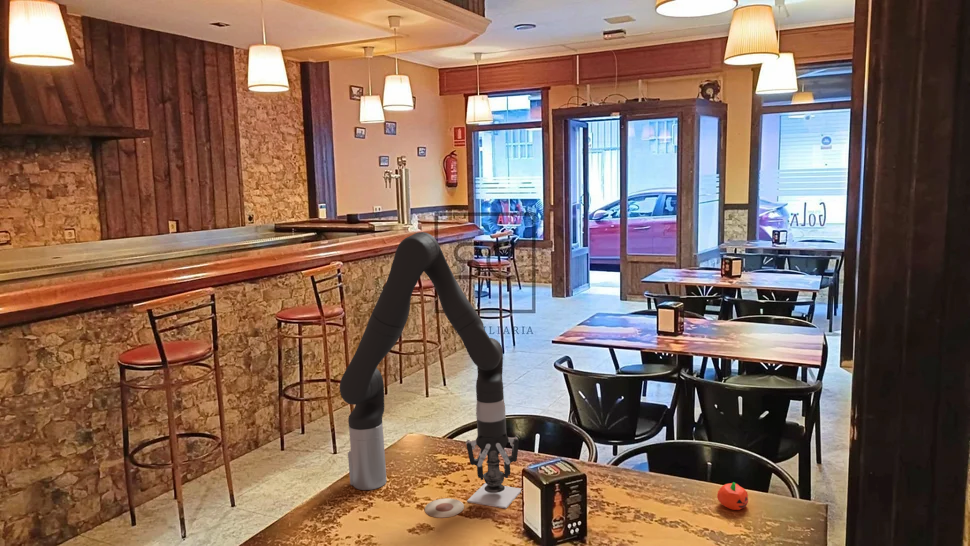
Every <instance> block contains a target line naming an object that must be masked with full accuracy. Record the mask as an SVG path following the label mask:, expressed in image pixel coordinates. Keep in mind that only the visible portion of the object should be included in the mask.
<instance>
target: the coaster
mask: <svg viewBox="0 0 970 546" xmlns="http://www.w3.org/2000/svg"><path fill="white" fill-rule="evenodd" d="M464 509H465V505H464V503H463V502H462V501H461V500H459V499H456V498H450V497H449V498H446V497H445V498H438V499H435V500H432V501H429V503H427V504H426V505H425V508H424V511H425V513H426V514H427V515H428V516H429V517H433V518H437V519H438V518H440V519H443V518H451V517H455V516H457V515H459V514H460V513H462V512H463V510H464Z"/></svg>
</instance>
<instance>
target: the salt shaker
mask: <svg viewBox="0 0 970 546" xmlns="http://www.w3.org/2000/svg"><path fill="white" fill-rule="evenodd" d="M485 462H486V464H487V472H483V480H484V482H485V483H486V484H487V486H486V487H485V491H487V492H490V493H498V492H501V491H503V490H504V489H505V487H504V486H505V485H503V483H504V480H505V473H504V472H503V471H501V468H500V463H501V460H500V458H499V454H497V452H496V451H491V452H490V453H489V455H487V460H486V461H485ZM485 483H484V484H485Z"/></svg>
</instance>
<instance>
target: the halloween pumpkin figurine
mask: <svg viewBox="0 0 970 546" xmlns="http://www.w3.org/2000/svg"><path fill="white" fill-rule="evenodd" d="M716 495H717V496H716V497H717V500H718V502H719V503H720V505H722V506H723V507H725V508H727V509H729V510H732V511H740V510H742V509H744V508H746V506H747V505H748V504H749V495H748V491H747V490H746V489H745V488H744V487H742V486H740V485H739V484H738V483H736V482H734V481H733V482H731V483H730V482H729V483H725V484H723V485H722V486H721V487H720V488H719V489H718V490H717V494H716Z"/></svg>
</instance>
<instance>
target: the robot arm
mask: <svg viewBox="0 0 970 546" xmlns="http://www.w3.org/2000/svg"><path fill="white" fill-rule="evenodd" d="M442 250H443V249H442V248H441V246H440V245H439V242H438V240H436V238H435V237H434V236H433V235H432V234H430V233H428V232H426V231H425V232H424V231H421V232H420V231H419V232H416V233H414V234H412V235H409V236H407V237H405V238H404V239H403V240H401V241H400V243H399V244H398V245H397V247H396V250H395V253H394V256H393V260H392V263H391V267H390V270H389V273H388V276H387V279H386V282H385V283H384V286H383V288H382V290H381V292H380V294H379V297H378V299H377V301H376V303H375V305H374V308H373V309H372V312H371V315H370V316H369V319H368V320H367V321H368V322H367V324H366V328H365V330H364V331H363V334H362V336H361V339H360V340H359V341H360V342H359V344H358V345H357V348H356V351H355V353H354V354H353V357H352V358H351V360H350V362H349V364H348V365H347V368H346V369H345V371H344V373H343V375H342V376H341V379H340V381H339V393H340V396H341V398H342V400H343V401H344V402H345V404H349V405H355V406H354V407H353V410H351V412H350V413H349V416H348V417H347V421H348V433H349V446H350V447H349V448H350V450H349V451H348V453H347V458H348V470H349V485H350V486H352V487H354V488H355V489H357V490H363V491H371V490H376V489H379V488H381V487H383V486H384V485H386V483H387V481H388V480H387V467H386V453H385V441H384V440H385V439H384V426H383V416H384V412H385V385H384V383H385V382H384V379H383V375H382V373H381V371H380V370H379V368H378V366H379V365H380V363H381V362H382V361H383V359H384V358H385V357H386V356H387V355H388V354H389V353H390V351H391V350H392V349H393V347H395V345H396V343H397V342H398V341H399V339H400V338H401V335H402V334H403V330H404V328H405V326H406V325H407V321H408V318H409V315H410V309H411V301H412V300H411V299H412V295H413V292H414V289H415V287H416V285H417V283H418V282H419V280H420V278H421V276H422V275H423V273H425V275H426V276H427V277H428V278H429V281H430V282H431V283H432V285H433V287H434V289H435V292H436V293H437V296H438V300H439V302H440V306H441V308H442V311H443V313H444V314H445V316H446V318H447V320H448V321H449V323H450V325H451V326H452V328H453V329H454V330H455V332H456V333H457V335H458V336H459V337H460V339H461V341H462V344H463V346H464V347H465V350H466V352H467V354H468V356H469V357H470V359H471V361H472V362H473V363H474V365H475V366H476V367H477V379H476V382H475V383H476V384H475V392H476V393H475V395H476V396H475V397H476V406H475V407H476V408H475V414H476V415H475V416H476V431H477V436H476V437H475V440H474V439H473V440H470V439H467V440H466V441H465V444H466V449H467V450H466V451H467V454H468V459H469V464H470V465H471V466H476V468H477V469H476V471H477V472H476V473H477V478H478V479H480V481H483V480H484V478H483V474H484V468H483V464H484V461H485V460H486V458H487V456H488V455H489V453H490V452H491V451H496V452H497V454H498V455H501V457H502V459H503V470H504V472H503V473H504V474H505V477H504V479H508V478H509V476H511V464H512V463H514V462H517V461H518V452H519V447H520V446H519V444H520V441H519V438H518V437H517V436H514V437H509V436H508V435H507V420H506V419H507V417H506V415H507V414H506V405H505V398H504V383H503V369H504V368H503V365H504V352H503V347H502V345H501V343H500V342H499V341H498V340H497V339H495V338H493V337H489V335H488V333H487V332H486V330H485V326H484V323H483V320H482V318H481V317H480V315H479V314H478V312H477V311H476V310H475V308H474V307H473V305H472V303H471V302H470V300H468V297H467V296H466V295H465V293H464V291H463V290H462V287H461V286H460V284H459V282H458V281H457V279H456V278H455V277H456V276H454V273H453V271H452V269H451V268H450V266H449V264H448V262H447V259H446V257H445V255H444V252H443V251H442ZM508 443H510V446H511V447H512V448H511V453H510V454H511V455H508V453H507V452H506V449H505V448H506V446H507V444H508ZM476 445H477V447H478V448H479V450H480V451H479V454H478V457H477V458H475V457H474V456H475V455H474V452H473V451H474V450H475V447H476Z"/></svg>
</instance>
